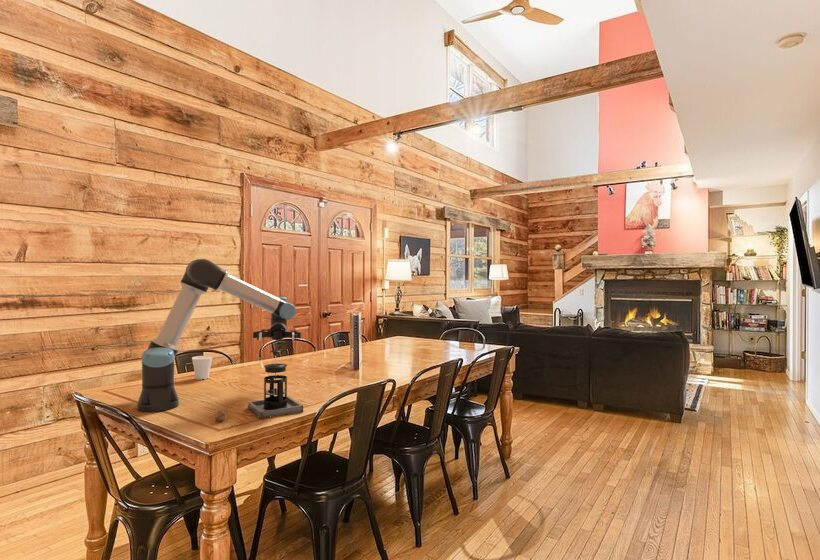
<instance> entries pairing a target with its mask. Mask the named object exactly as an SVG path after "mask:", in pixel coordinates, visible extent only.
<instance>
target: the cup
mask: <svg viewBox="0 0 820 560" xmlns="http://www.w3.org/2000/svg"><path fill="white" fill-rule="evenodd" d="M213 358H214V357H213V356H212V355H211V356H210V355H197V356H193V357H191V360H192V366H193V371H194V376H195V379H196V380H198V381H203V380H202V379H204V380H208V379H209V377H210V371H211V366H212V362H213V361H212V360H213ZM207 378H208V379H207Z"/></svg>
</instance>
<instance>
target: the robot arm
mask: <svg viewBox="0 0 820 560" xmlns="http://www.w3.org/2000/svg"><path fill="white" fill-rule="evenodd" d="M179 283H180V285H181V288H180V290H179V292H178V294H177V296H176V299H175V300H174V303H173V305H172V306H171V309H170V310H169V313H168V315H167V316H166V319H165V321H164V323H163V325H162V327H161V329H160V331H159V333H158V335H157V337H156V338H153V339H151V340H150V341H151V342H150V343H149V344H148V347H147V349H146V350H143V352H142V355H141V392H140V395H139V398H138V399H137V402H136V403H137V404H136V409H137V410H138V411H140V412H143V413H144V412H146V413H147V412H149V413H150V412H151V413H152V412H163V411H167V410H171V409H174V408H176V407H178V406H179V403H180V401H179V400H180V399H179V397H178V394H177V390H176V388H175V358H176V356H177V355H178V352H179V350H180V348H179V346H178V343H179V341H180V340H181V338H182V335H183V333H184V332H185V329H186V327H187V325H188V323H189V321H190V320H191V317H192V315H193V313H194V310H195V309H196V306H197V304H198V302H199V301H200V299H201V296H202V295H204V294H206V293H207V292H208V290H209V289H212V290H214V291H222V292H224V293H226V294H228V295H231V296H233V297H236V298H238V299H240V300H242V301H244V302H247V303H248V304H251V305H253V306H255V307H257V308H259V309H261V310H264V311H267V312H268V313H270V327H269V329H268V330H266V329H261V330H258V331H253V332H252V339H256V340H257V341H259V342H260V341H261V340H262V339H264V338H268V339H272V340H273V341H282V340H284V339H286V338H290V339H291V340H292V342H293V341H295V339H301V338H302V337H301V335H302V332H301V331H297V330H293V329H291V330H288V320H292V319H293V318H294V317H295V316H296V315H297V308H296V306H295V305H294V304H292V303H291V302H288V301H289V300H288V298H287V297H286V296H275V295H273V294H271V293H268V292H267V291H265V290H262V289H260V288H258V287H256V286H255V285H252V284H250V283H248V282H246V281H243V280H242V279H240V278H238V277H235V276H234V275H230V274H229V272H228V270H226V269H224V268H222V267H220V266H219V265H217V264H216V263H215V262H213V261H211V260H209V259H206V258H197V259H194V260H191V261H190V262H189V263H188V264H187V266H186V268H185V272H184V273H183V276H182V278H181V280H180V282H179Z"/></svg>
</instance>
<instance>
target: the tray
mask: <svg viewBox="0 0 820 560" xmlns="http://www.w3.org/2000/svg"><path fill="white" fill-rule="evenodd" d="M263 406H264V399H259V400H252V401H251V400H250V401H248V402H247V407H248V409H249V410H250V411H251V410H252V411H253V412H254V413H255V416H257V417H258V416H259V417H260V418H263V419H265V418H264V417H269V418H271V417H270V416H275V417H278V416H277V415H281V416H285V415H284V414H287V415H292V414H299V412H300V413H304V405H303V404H301V403H300V402H298V401H297V400H295V399H294V398H293V397H291V396H289V395H287V407H286V408H280V409H274V410H266V409H264V408H263ZM252 411H251V412H252ZM253 412H252V413H253ZM254 413H253V414H254ZM259 417H258V418H259ZM260 418H259V419H260Z"/></svg>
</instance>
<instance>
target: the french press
mask: <svg viewBox="0 0 820 560" xmlns="http://www.w3.org/2000/svg"><path fill="white" fill-rule="evenodd" d="M269 352H270V353H273V354H274V355H273V356H274V363H268V364H265V365H263V367H264V369H265V370H264V371H265V372H266V373H268V374H274V375H268V376H265V377H264V378H263V400H264V406H263V408H264V409H266V410H274V409H280V408H286V407H287V396H288V395H287V394H288V390H287V389H288V387H287V386H288V376H286V375H279V373H284V372H286V370H287V366H288V364H285V363H277V355H278V353H281V352H282V351H281V350H280V349H278V350H277V349H273V350H270V351H269ZM267 384H269V389H267Z"/></svg>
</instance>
